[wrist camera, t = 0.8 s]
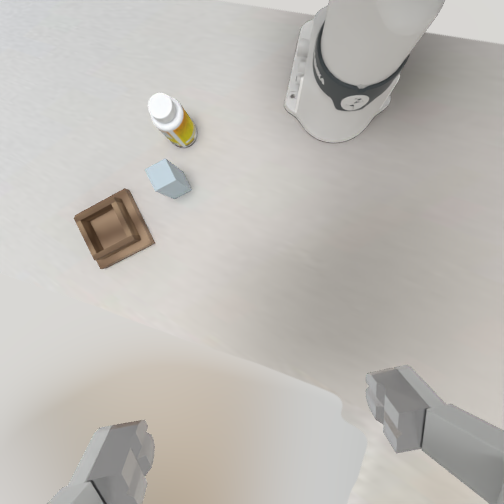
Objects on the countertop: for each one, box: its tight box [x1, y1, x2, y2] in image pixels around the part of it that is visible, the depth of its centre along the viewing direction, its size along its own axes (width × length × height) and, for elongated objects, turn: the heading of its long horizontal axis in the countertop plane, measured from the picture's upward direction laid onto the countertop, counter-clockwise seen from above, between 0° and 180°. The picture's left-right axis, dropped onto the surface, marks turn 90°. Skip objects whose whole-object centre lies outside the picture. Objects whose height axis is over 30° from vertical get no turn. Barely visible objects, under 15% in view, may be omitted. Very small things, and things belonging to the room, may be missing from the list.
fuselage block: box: [145, 158, 192, 199], centre depth 44 cm, size 4×4×8 cm
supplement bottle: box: [148, 93, 197, 147], centre depth 42 cm, size 6×6×10 cm
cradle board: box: [74, 189, 155, 269], centre depth 48 cm, size 12×12×4 cm
